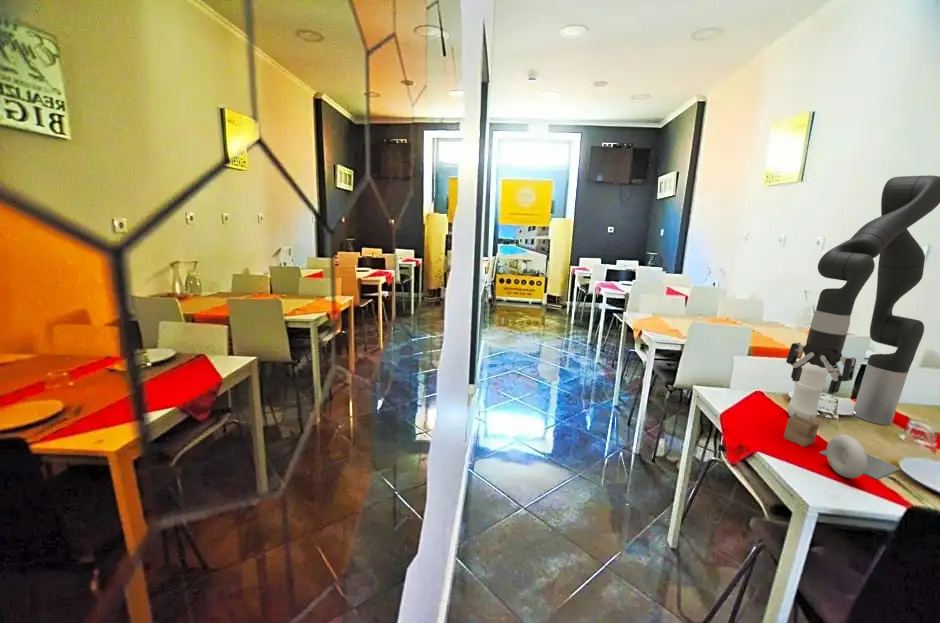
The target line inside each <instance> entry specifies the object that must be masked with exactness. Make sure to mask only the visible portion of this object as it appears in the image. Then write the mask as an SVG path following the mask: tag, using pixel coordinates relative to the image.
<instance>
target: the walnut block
mask: <svg viewBox="0 0 940 623" xmlns="http://www.w3.org/2000/svg"><path fill="white" fill-rule="evenodd" d="M819 425H820V423H817V422H815V421H814V420H813V421H811V420H809V419H806V418H804V417H801V416H795V417H789V418H788V419H787V423H786V425H785V426H786V427H785V429H784V430H785V431H784V435H783V438H784V439H785V440H788V441H790V442H793V443H794V442H795V444H796V443H797V445H798V444H799V446H801V447H803V448H804V447H808V446H810V445H813V444H812V443H815V440H816V436H817V433H818V429H819ZM809 444H810V445H809Z"/></svg>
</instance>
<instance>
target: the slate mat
mask: <svg viewBox="0 0 940 623" xmlns="http://www.w3.org/2000/svg"><path fill="white" fill-rule="evenodd" d="M819 455H822V456H825V457H827V449H825V450H821V451H819ZM866 455H867V467H866V469H865V471H864V473H863V474H862V475H864V476H868V477H870V478H872V479H874V480H879V479H882V478H884V477H887V476H888V475H892V474H893V473H896V472H898V471H900V470H901V469H899V468H900V467H898V466H896V465H894V464H892V463H888V462H887V461H885V460H882V459H879V458H877V457H875V456H872V455H870V454H868V453H866ZM844 456H845V460H846V462H847V461H848V455H847V452H846V450H845V453H844Z"/></svg>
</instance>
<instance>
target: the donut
mask: <svg viewBox="0 0 940 623" xmlns="http://www.w3.org/2000/svg"><path fill="white" fill-rule="evenodd" d="M826 450H827V461H828V464H829V465H830V467H831V468H832V469H833V471H834V472H835V473H836V474H838V475H839V476H842V477H843V478H846V479H855V478H859V477H861V476H862V475H864V474H863V473H864V471H865V469H866V467H867V455H866V454H867V453H866V450H865V448H864V447H863V445H862V444H861V443H860V442H859V441H858V440H857V439H856V438H855V437H852V436H850V435H848V434H837V435H835V436H833V437H832V438H831V439H830V440H829V441H828V443H827V445H826ZM845 450H846V452H847V455H848V461H847V462H846V460H845V456H844V453H845Z"/></svg>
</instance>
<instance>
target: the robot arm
mask: <svg viewBox="0 0 940 623" xmlns="http://www.w3.org/2000/svg"><path fill="white" fill-rule="evenodd" d="M880 202H881V203H880V204H881V205H880V207H881V208H880V213H881V214H880V216H879V217H876V218H874V219H872V220H870V221H869V222H866V223H865V224H864V225H863V226H862V227H860V228H859V229H858V230H857V231H856V232H855V233H854V234H853V235H852V237H851V238H850V239H847V240H845V241H843V242H842V243H840V244H838V245H836V246H834V247H833V248H831V249H829V250H828V251H827V252H826V253H824V255H822V256H821V258H820V259H819V261H818V264H817V271H818V274H819V275H820V276H822V277H823V278H826V279H830V280H838V281H843V282H846V283H845V284H844V285H843V286H842V287H839V288H824V289H822V290H821V292H820V293H819V297H818V300H817V305H816V308H815V311H814V313H813V316H812V318H811V321H810V325H809V330H808V333H807V338H806V342H805V343H806V344H805V345H804V344H802V343H801V342H795V343H794V342H793V343H792V344H791V345H790V349H789V351H788V355H787V357H786V360H785V362H786V363H787V364H789V365H791V366H792V371H791V375H790V377H791V378H790V379H792V382H794V383H795V382H797V381H799V380H800V376H801V373H802V369H803V368H801V367H802V366H804V365H805V364H807V363H810V364H812V365H817V366H819V367H821V368H826V369H827V371H828V374H830V377H831V381H830V383H829V388H828V391H827V393H828V394H830V395H834V394H835V393H838V392H839V391H840V387H841V384H842V382H849V381H852V380H853V378H854V373H855V372H854V371H855V367H856V362H857V358H855V357H846V356H843V355H842V353H843V352H842V351H843V350H844V347H845V346H844V345H845V344H846V343H845V342H846V338H847V336H848V332H849V329H850V324H851V316H852V312H853V309H854V305H855V302H856V300H857V297H858V296H859V294H860V292H861V290H862V289H863V287H864V286H865V284H866V283H867V281H869V279H870V278H871V276H872V275H873V272H874V271H875V267H876V266H875V265H876V264H875V261H874V259H875V258H876V257H877V256H879V257H878V264H877V265H878V266H877V281H876V282H877V283H876V292H875V293H876V294H875V300H874V306H873V312H872V317H871V321H870V327H869V337H870V339H871V341H873V342H874V343H877V344H882V345H885V346H890V347H894V348H896V350H895V352H893V353H892V352H891V353H874V354H871V355H869V357H868V359H867V363H866V365H865V366H866V367H865V371H864V374H863V377H862V380H861V383H860V386H859V390H858V393H857V397H856V400H855V403H854V406H853V409H854V411H855V412H856V414H855V415H854V416H855V417H857V418H859V419H861V420H864V421H866V422H869V423H874V424H877V425H884V426H889V425H892V423H893V421H894V418H895V413H896V411H897V408H898V405H899V402H900V399H901V396H902V393H903V389H904V386H905V383H906V380H907V377H908V373H909V371H910V368H911V366H912V364H913V361H914V359H915V356H916V353H917V351H918V348H919V345H920V344H921V341H922V338H923V335H924V333H925V324H924V322H923V321H921V320H919V319H916V318H911V317H904V316H899V315H894V314H893V308H894V307H895V304H897V302H898V301H899V300H900V299H901V298H902V297H903V296H905V295H906V294H907V293H909V292H910V291H911V290H912V289H914V288H915V287H916V286H917V285H918V284H919V283H920V282H921V281H922V279H923V275H924V270H925V269H924V268H925V263H926V261H925V260H926V255H925V253H924V251H923V249H922V247H921V245H920V244H919V243H918V241H917V240H916V239H915V238H914V237H913V235H912V234H911V233H910V231H909V230H908V228H910V227H911V226H913V225H914V224H916V223H917V222H918V221H920V220H921V219H923V218H924V217H925V216H927V215H928V214H930V213H931V212H932V211H934V210H935V209H936V208H937V207H938V206H939V205H940V176H939V175H932V174H931V175H929V174H928V175H909V176H908V175H907V176H905V175H904V176H901V175H900V176H894V177H893V176H892V177H891V178H889V179H888V180H887V181H886V182H885V184H884V187H883V190H882V192H881V200H880ZM800 352H803V354H804V356H803V357H801V358H800V359H798V358H799V354H800ZM839 362H841V364H842V366H843V369H842V372H841V368H840V367H839V365H838V364H839Z"/></svg>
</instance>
